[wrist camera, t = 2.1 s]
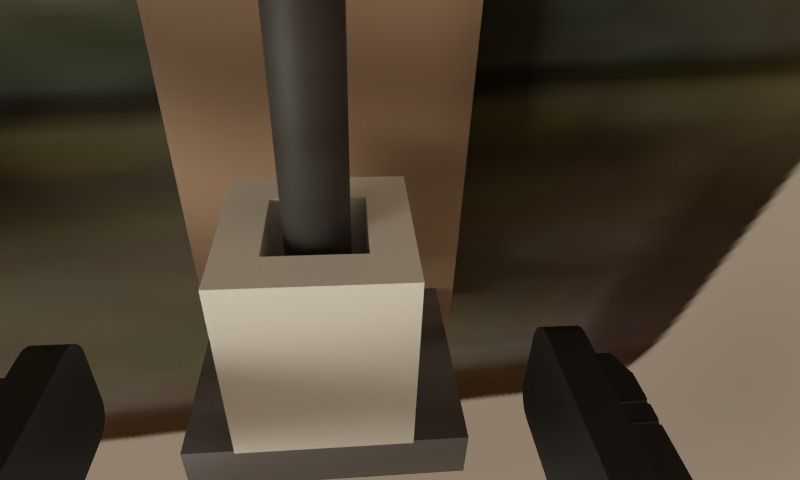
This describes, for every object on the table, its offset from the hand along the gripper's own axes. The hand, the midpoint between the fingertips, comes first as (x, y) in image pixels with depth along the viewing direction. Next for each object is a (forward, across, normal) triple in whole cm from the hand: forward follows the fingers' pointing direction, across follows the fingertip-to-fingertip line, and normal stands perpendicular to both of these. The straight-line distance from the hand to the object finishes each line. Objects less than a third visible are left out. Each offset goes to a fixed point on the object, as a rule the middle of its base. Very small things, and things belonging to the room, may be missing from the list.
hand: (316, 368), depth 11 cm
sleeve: (+3, 0, 0) cm, 3 cm away
